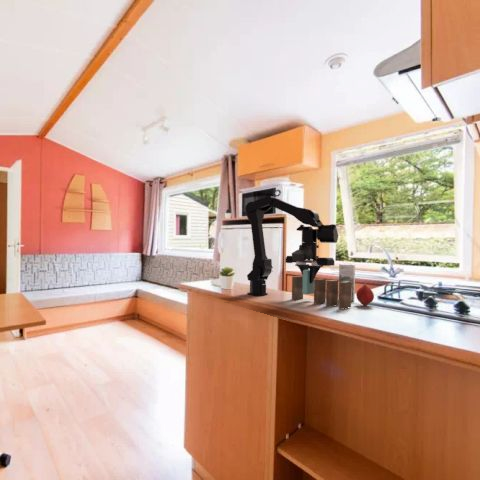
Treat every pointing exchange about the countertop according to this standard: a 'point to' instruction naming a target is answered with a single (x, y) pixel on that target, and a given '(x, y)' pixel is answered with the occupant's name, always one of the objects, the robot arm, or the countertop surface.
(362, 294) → the onion
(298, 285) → the domino
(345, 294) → the domino
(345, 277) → the syrup box
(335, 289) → the domino
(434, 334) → the countertop surface
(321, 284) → the domino
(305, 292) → the domino
